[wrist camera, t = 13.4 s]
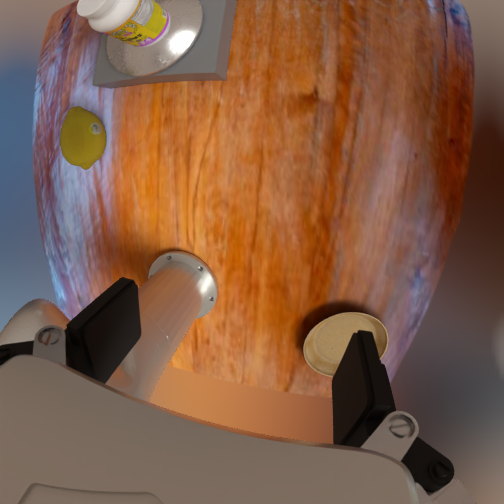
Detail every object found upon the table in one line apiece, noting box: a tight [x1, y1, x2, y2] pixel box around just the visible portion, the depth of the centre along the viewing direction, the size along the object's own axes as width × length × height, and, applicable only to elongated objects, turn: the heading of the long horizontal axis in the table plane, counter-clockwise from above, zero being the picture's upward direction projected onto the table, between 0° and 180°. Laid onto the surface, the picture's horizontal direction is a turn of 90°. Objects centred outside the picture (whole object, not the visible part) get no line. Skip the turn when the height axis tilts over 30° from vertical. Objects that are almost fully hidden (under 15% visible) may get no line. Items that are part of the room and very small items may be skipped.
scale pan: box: [107, 0, 204, 77], centre depth 27 cm, size 15×15×1 cm
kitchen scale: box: [93, 0, 237, 89], centre depth 29 cm, size 20×20×6 cm
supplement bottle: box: [77, 0, 170, 47], centre depth 21 cm, size 7×7×13 cm
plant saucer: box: [303, 312, 388, 377], centre depth 45 cm, size 15×15×3 cm
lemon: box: [60, 106, 106, 170], centre depth 36 cm, size 11×8×8 cm
